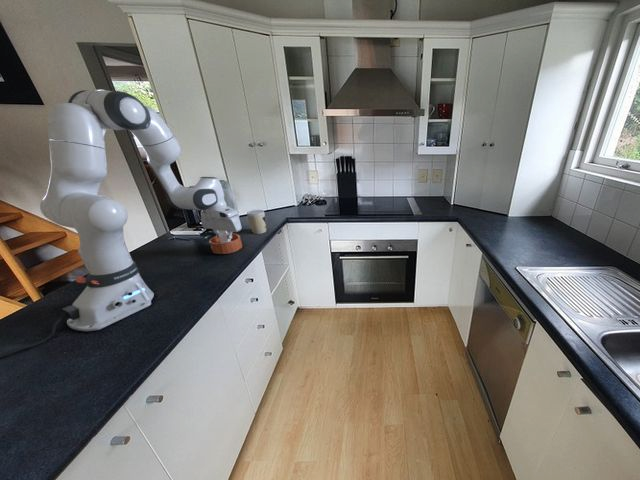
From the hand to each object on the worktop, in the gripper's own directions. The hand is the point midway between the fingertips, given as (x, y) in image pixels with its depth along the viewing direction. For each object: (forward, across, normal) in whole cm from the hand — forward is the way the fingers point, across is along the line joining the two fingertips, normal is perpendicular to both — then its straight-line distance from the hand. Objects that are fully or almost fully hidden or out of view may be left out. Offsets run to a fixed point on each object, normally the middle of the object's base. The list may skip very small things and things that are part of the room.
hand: (224, 237), depth 136 cm
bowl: (+6, 0, 0) cm, 6 cm away
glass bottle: (+6, -23, +29) cm, 38 cm away
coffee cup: (+6, -1, +26) cm, 27 cm away
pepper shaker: (+4, 0, 0) cm, 4 cm away
